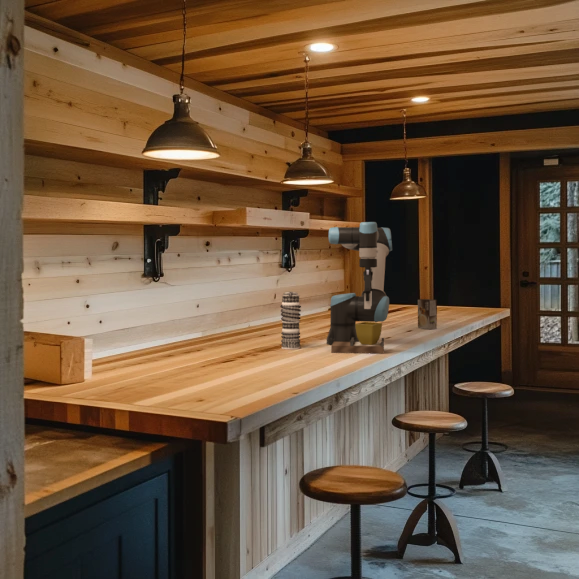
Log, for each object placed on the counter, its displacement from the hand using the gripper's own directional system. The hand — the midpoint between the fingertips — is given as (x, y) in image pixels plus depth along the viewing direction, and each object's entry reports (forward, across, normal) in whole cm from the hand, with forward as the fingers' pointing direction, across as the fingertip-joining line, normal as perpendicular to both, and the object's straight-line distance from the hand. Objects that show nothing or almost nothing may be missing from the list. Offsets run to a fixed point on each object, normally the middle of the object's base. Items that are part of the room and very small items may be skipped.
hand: (367, 307), depth 319 cm
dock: (+19, -2, +4) cm, 19 cm away
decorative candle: (+19, +3, +34) cm, 39 cm away
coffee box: (+20, +92, -30) cm, 99 cm away
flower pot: (+16, -3, 0) cm, 16 cm away
